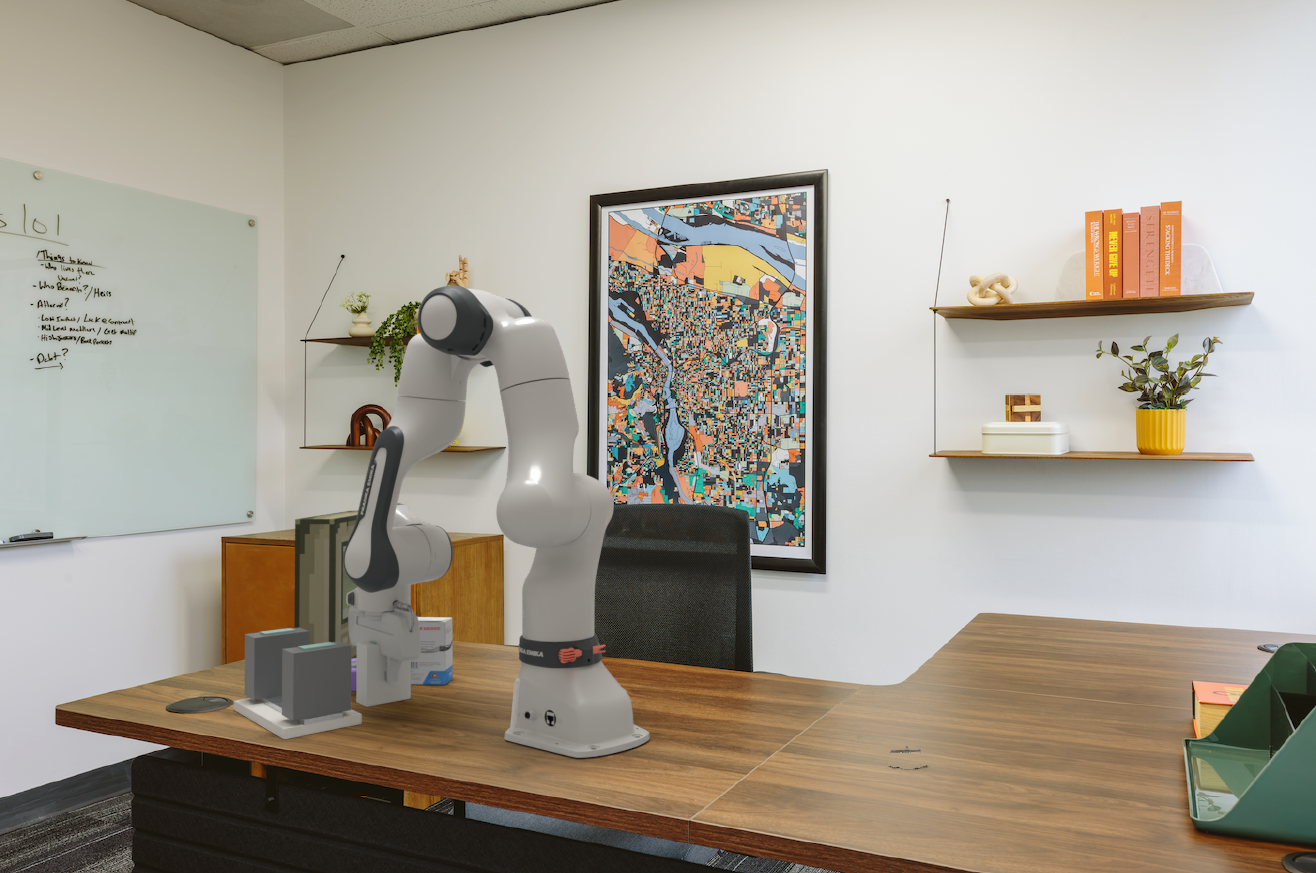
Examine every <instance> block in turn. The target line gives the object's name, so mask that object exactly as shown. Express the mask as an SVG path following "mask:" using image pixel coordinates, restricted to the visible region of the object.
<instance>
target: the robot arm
mask: <svg viewBox="0 0 1316 873" xmlns="http://www.w3.org/2000/svg"><path fill="white" fill-rule="evenodd" d="M417 327H418V331H419V333H417V334H415V335H414V336H412V338H411V339H410V340H409V341H408V344H407V346H406V349H405V353H404V356H403V361H402V364H401V369H400V375H399V382H398V390H397V398H396V403H395V409H394V412H393V414H392V416H391V419H390V421H389V423H388V424H387V426H386V428H385V429H383V430H382V431H381V432H380V433H379V434H378V436H377V438H376V440H375V442H374V446H373V447H372V452H371V456H370V459H369V462H368V468H367V471H366V474H365V480H364V484H363V487H362V492H361V498H360V500H359V506H358V510H357V511H358V514H357V518H356V522H355V525H354V528H353V531H352V533H351V536H350V538H349V540H348V543H347V545H346V549H345V552H344V568H345V571H346V573H347V575H348V576H349V578H350V579H351V580H352V582H353V583H354V584H356V585H357V588H355V589H354V590H352V591H350V592H348V593H347V595H346V603H347V605H349V606H350V607H349V610H348V629H349V638H350V641H351V644H352V645H354V646H357V643H361V642H368V641H373V642H377V644H378V645H379V652H380V654H381V655H384V656H387V663H388V667H387V671H384V676H385V677H384V680H385V681H386V682H389V683H393V682H397V680H398V671H399V668H400V665H401V663H402V661H408V660H414V659H418V657H419V655H420V653H421V641H420V628H419V621H418V618H417V617H418V616H417V614H415V611H413V608H412V605H411V604H412V603H411V600H412V596H411V591H412V588H411V587H412V585H416V584H420V583H425V582H427V583H428V582H432V581H435V580H438V579H441V578H443V577H444V576H445V575H446V574H447V573H448V572H449V571H450V569H451V567H452V564H453V560H454V546H453V542H452V539H451V536H450V535H449V533H448V532H447V531H446V530H445V529H444V528H443V527H441V526H440V525H434V524H431V523H429V522H427V521H424V520H422V519H421V518H419V517H417V516H415V515H414V514H413V513H412V512H411V510H410V509H409V507H408V506H407V505H405V504H403V503H400V502H398V500H399V498H400V494H401V488H402V484H403V481H404V479H405V477H406V476H407V474H408V473H409V472H410V470H411V469H412V468H413V467H414V466H416V465H417V464H418V463H420V462H422V461H423V460H425V459H427V458H429V457H431V456H433V455H436V454H439V453H440V452H442V451H443V450H444V451H445V449H447V448H448V447H450V446H451V445H452V444H453V443H455V441H456V440H457V439H458V437H460V434H461V432H462V429H463V427H464V421H465V417H466V416H465V415H466V406H467V388H468V380H469V375H470V373H471V371H472V370H473V369H474V368H475V367H476V366H477V365H481V366H482V367H484V368H488V367H492V366H493V367H494V369H495V372H496V377H497V382H498V388H499V394H500V399H501V405H502V411H503V416H504V422H505V423H504V424H505V427H506V429H505V430H506V433H507V449H508V454H507V471H506V480H505V486H504V488H503V490H502V492H501V494H500V496H498V500H497V504H496V510H495V513H496V514H495V515H496V521H497V523H498V524H497V525H498V526H499V529H500V531H501V532H502V533H503V535H504V536H505V537H506V538H507V539H508V540H509V541H511V542H512V543H514V544H517V545H520V546H524V547H528V548H534V549H535V553H534V557H533V561H532V564H531V567H530V570H529V573H528V574H527V576H526V577H525V579H524V582H523V583H522V588H521V589H522V591H521V598H522V602H521V603H522V604H521V606H522V607H521V609H522V610H521V615H522V616H521V620H522V622H521V623H522V624H521V627H522V629H521V635H520V636H519V644H518V649H517V650H518V660H519V661H520V663H521V664H520V669H519V672H518V674H517V676H516V678H515V680H514V683H513V693H512V703H511V704H512V705H511V712H510V713H511V716H510V725H509V728H507V729H506V730H505V732H504V740H505V741H506V742H507V741H509V742H512V743H515V744H520V745H523V746H526V747H527V746H528V747H531V748H535V749H538V750H539V749H540V750H543V751H548V752H552V753H555V754H559V755H564V756H568V757H572V758H577V759H578V758H579V759H580V758H581V759H582V758H592V757H593V758H594V757H599V756H600V757H601V756H606V755H611V754H614V753H615V754H616V753H619V752H623V751H626V750H629V749H630V750H631V749H632V748H633V749H634V748H637V747H638V746H640V745H642V744H645V743H647V742H648V741H650V739H651V738H650V737H651V736H650V732H649V731H647V730H646V729H645V728H642V727H641V726H639V725H636V724H634V713H633V706H632V705H633V704H632V699H631V697H630V695H629V694H628V691H627V690H626V688H623V687H622V686H621V685H620V683H619V682H618V681H617V679H616V678H615V677H614V676H613V675H612V673H611V672H610V671H609V669H608V668H607V667H606V666H605V665H604V663H603V662H602V660H603V655H602V653H606V650H602V649H604V648H605V647H606V644H600V642H599V639H598V636H597V634H596V633H595V608H596V607H595V603H596V602H595V601H596V600H595V598H596V597H595V596H596V595H595V594H596V593H595V592H596V580H597V573H598V568H599V561H600V556H601V552H602V547H603V544H604V543H603V542H604V537H605V533H606V530H607V527H608V525H609V523H610V522H611V520H612V518H613V514H614V509H615V508H614V507H615V505H614V498H613V496H612V493H611V492H610V490H609V488H608V487H607V486H606V485H605V484H604V483H603V482H601V481H600V480H598V479H596V478H595V477H593V476H590V475H587V474H584V473H580V472H574V452H575V451H574V450H575V449H574V448H575V442H576V439H577V437H578V435H579V430H580V424H579V420H578V415H577V410H576V409H577V408H576V405H575V404H576V403H575V399H574V394H573V388H572V384H571V378H570V375H569V374H570V373H569V369H568V364H567V361H566V358H565V355H564V352H563V349H562V346H561V343H560V341H559V338H558V336H557V333H556V331H555V329H554V327H553V325H552V324H551V323H550V322H549V321H547V320H545V319H543V318H540V317H536V316H532V314H531V313H530V311H529V310H528V309H527V308H526V307H525V306H523V305H522V304H521V303H519V302H517V301H516V300H514V299H511V298H504V297H502V296H500V295H497V294H494V293H493V292H490V291H487V290H482V289H477V288H471V287H470V288H469V287H468V288H467V287H465V286H460V285H445V286H441V287H438V288H435V289H433V290H431V291H430V292H428V293H427V295H425V297H424V298H423V300H422V301H421V303H420V305H419V308H418V312H417Z"/></svg>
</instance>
